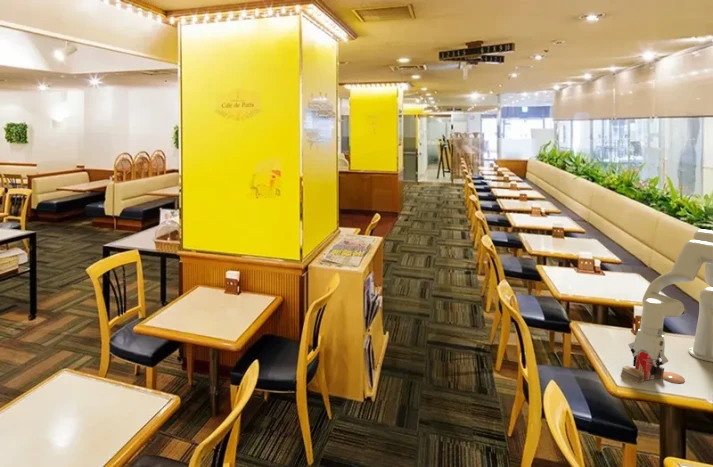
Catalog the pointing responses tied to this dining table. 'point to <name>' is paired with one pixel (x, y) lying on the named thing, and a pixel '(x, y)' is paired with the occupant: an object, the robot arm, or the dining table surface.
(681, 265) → the robot arm
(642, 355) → the soda can
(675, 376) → the coaster
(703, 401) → the dining table surface
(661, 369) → the brown wooden panel
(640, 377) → the offcut stack
